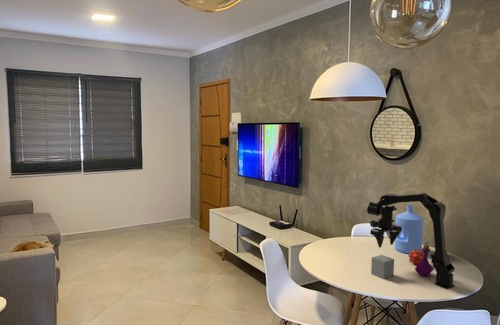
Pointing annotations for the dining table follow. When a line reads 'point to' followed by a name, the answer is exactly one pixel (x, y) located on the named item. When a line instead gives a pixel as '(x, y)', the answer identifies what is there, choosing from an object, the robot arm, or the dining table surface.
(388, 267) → the matte grey cube
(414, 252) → the dragon fruit
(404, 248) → the water jug
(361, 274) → the dining table surface
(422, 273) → the perfume bottle
